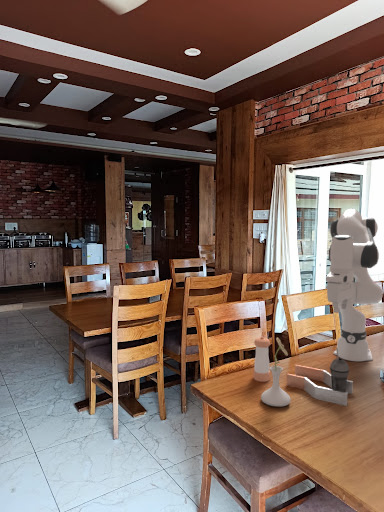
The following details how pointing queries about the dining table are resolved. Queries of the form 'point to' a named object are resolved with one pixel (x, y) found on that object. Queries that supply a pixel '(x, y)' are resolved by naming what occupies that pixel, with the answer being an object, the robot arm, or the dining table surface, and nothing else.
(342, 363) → the beverage cup
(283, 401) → the flower in vase
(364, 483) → the dining table surface
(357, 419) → the dining table surface
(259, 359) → the pepper shaker
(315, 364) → the dining table surface
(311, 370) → the rail track
